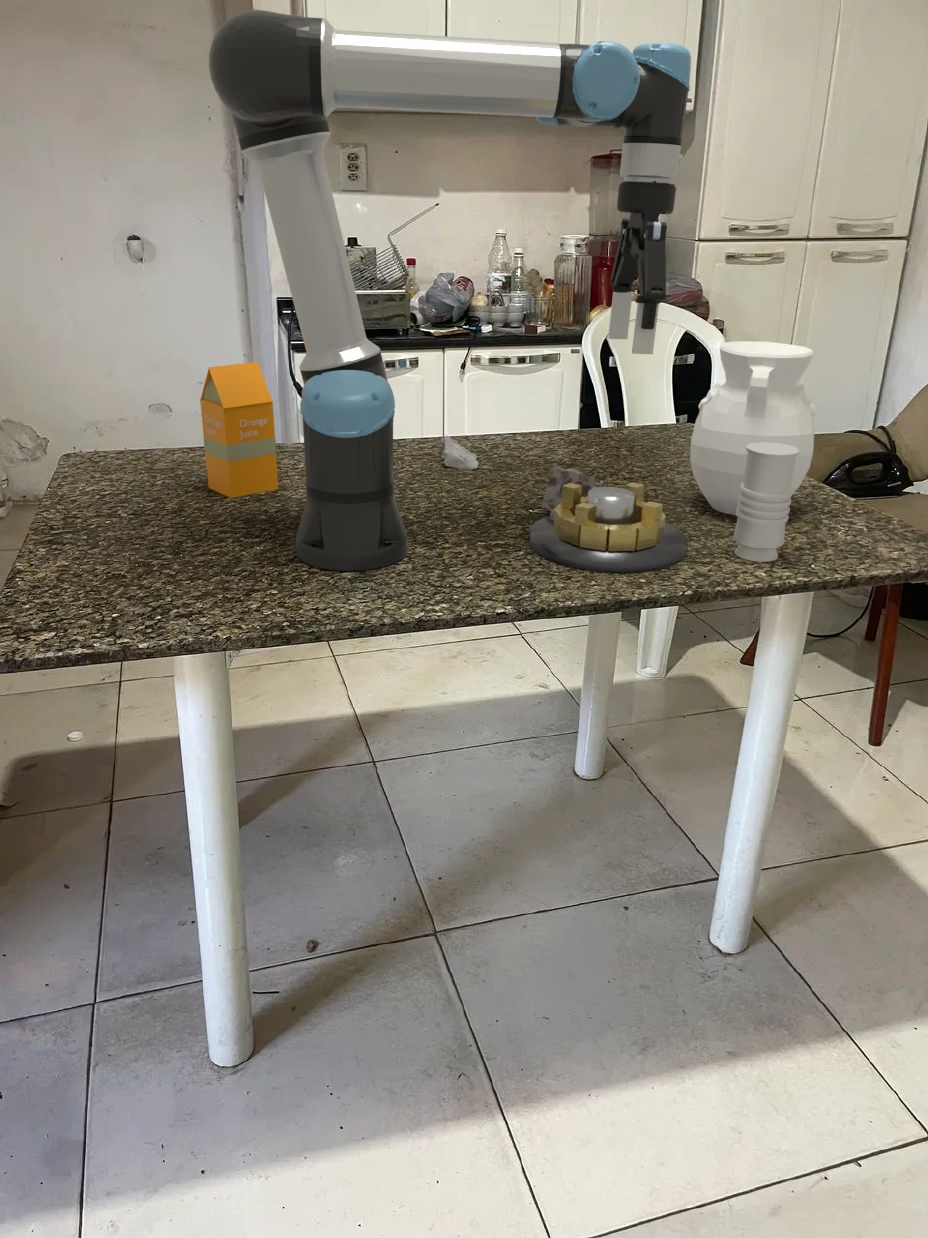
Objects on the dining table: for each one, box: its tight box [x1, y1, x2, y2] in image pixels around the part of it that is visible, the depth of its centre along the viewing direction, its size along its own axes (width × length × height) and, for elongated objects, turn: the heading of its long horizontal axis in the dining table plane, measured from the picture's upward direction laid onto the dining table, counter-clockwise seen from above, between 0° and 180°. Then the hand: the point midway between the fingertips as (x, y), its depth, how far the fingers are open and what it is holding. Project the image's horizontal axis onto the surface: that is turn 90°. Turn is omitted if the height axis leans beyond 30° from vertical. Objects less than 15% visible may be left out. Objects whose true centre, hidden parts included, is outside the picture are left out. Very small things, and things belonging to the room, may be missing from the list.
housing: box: [529, 486, 688, 574], centre depth 133 cm, size 22×22×8 cm
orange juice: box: [199, 361, 279, 499], centre depth 152 cm, size 8×9×20 cm
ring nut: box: [550, 482, 667, 551], centre depth 133 cm, size 15×15×6 cm
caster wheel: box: [541, 465, 605, 512], centre depth 148 cm, size 7×11×10 cm
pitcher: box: [689, 340, 817, 516], centre depth 147 cm, size 19×18×25 cm
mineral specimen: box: [439, 435, 480, 471], centre depth 174 cm, size 6×12×4 cm, turn 5°
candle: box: [733, 442, 799, 563], centre depth 129 cm, size 7×7×15 cm
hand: (629, 346), depth 134 cm, fingers open, 13 cm apart
